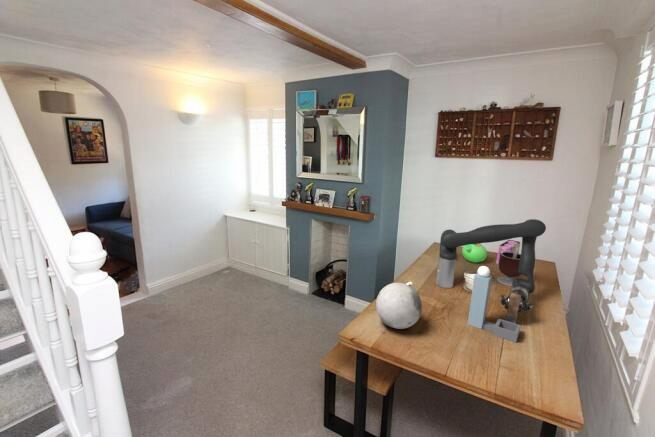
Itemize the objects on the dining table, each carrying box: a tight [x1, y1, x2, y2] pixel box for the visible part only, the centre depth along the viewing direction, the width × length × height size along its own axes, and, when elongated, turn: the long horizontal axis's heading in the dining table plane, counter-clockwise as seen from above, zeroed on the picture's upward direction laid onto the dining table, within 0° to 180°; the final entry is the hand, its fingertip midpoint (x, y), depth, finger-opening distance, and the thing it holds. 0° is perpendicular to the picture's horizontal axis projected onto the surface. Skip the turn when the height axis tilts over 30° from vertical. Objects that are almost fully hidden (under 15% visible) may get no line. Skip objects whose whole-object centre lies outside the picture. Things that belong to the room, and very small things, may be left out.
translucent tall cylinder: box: [505, 292, 521, 324], centre depth 148 cm, size 4×4×14 cm
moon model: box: [375, 282, 423, 330], centre depth 143 cm, size 20×20×20 cm
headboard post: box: [467, 265, 521, 343], centre depth 140 cm, size 20×9×28 cm, turn 52°
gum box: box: [495, 239, 521, 265], centre depth 228 cm, size 24×8×14 cm, turn 134°
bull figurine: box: [406, 281, 415, 288], centre depth 170 cm, size 4×13×8 cm, turn 137°
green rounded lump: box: [461, 243, 488, 263], centre depth 227 cm, size 18×17×15 cm
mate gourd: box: [497, 247, 522, 287], centre depth 194 cm, size 16×14×20 cm
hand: (512, 309), depth 146 cm, fingers open, 4 cm apart
